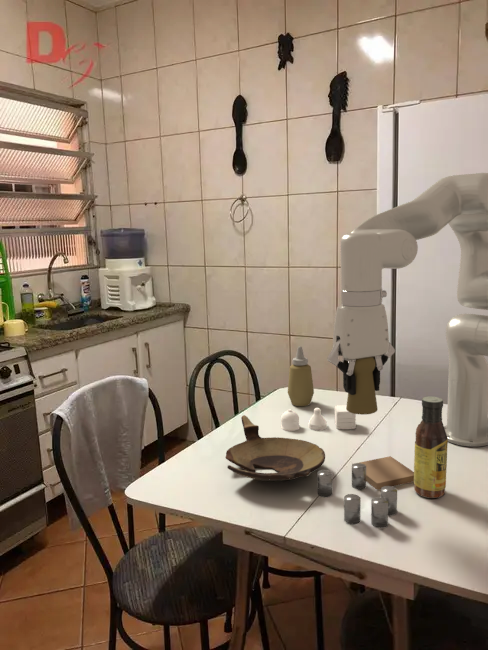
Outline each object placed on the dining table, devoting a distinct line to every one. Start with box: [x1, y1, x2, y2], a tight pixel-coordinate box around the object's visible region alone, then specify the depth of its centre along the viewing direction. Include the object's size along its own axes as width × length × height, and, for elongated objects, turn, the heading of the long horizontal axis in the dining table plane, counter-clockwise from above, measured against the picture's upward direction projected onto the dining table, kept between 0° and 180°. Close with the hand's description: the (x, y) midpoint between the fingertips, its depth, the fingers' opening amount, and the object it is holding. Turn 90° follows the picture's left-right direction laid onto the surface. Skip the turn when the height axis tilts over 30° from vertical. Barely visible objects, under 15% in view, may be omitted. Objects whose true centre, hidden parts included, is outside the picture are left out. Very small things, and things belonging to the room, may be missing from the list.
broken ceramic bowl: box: [225, 414, 326, 482], centre depth 124 cm, size 22×30×8 cm
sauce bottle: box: [413, 396, 449, 499], centre depth 109 cm, size 6×6×20 cm
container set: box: [280, 404, 357, 432], centre depth 148 cm, size 20×5×6 cm, turn 87°
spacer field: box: [317, 462, 398, 529], centre depth 107 cm, size 11×17×4 cm, turn 19°
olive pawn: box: [346, 357, 378, 415], centre depth 106 cm, size 6×6×11 cm
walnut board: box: [351, 455, 414, 491], centre depth 119 cm, size 10×10×2 cm
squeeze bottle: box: [287, 346, 315, 407], centre depth 165 cm, size 8×8×18 cm
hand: (361, 390), depth 106 cm, fingers closed on olive pawn, 4 cm apart
